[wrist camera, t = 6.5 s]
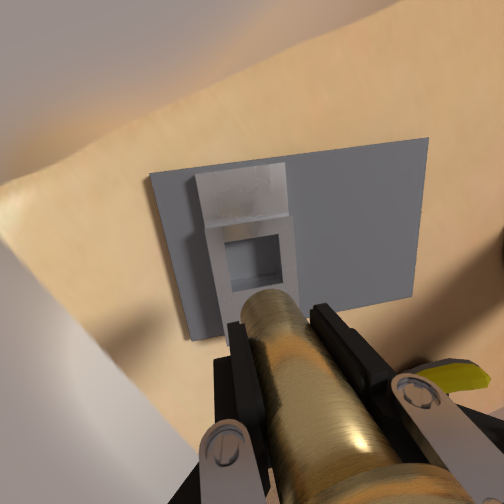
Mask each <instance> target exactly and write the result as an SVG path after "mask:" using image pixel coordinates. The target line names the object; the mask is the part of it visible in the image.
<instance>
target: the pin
mask: <svg viewBox="0 0 504 504" xmlns="http://www.w3.org/2000/svg"><path fill="white" fill-rule="evenodd" d="M240 321H241V324H243V323H245V327H246V331H247V335H248V340H249V344H250V348H251V352H252V356H253V360H254V364H255V369H256V373H257V377H258V381H259V385H260V389H261V394H262V398H263V403H264V409H265V416H266V423H267V428H266V441H267V446H268V451H269V455H270V460H271V464H272V469H273V474H274V478H275V483H276V488H277V492H278V497H279V501H280V504H476V503H475V501H474V500H473V499H472V498H471V496H470V495H469V494H468V493H467V491H466V490H465V489H464V488H463V487H462V485H461V484H460V483H459V482H458V480H457V479H456V478H455V477H454V475H453V474H452V473H450V472H449V471H447V470H445V469H443V468H441V467H438V466H435V465H430V464H423V463H405V464H404V463H403V462H402V460H401V459H400V457H399V456H398V454H397V453H396V451H395V450H394V449H393V447H392V446H391V444H390V443H389V441H388V440H387V438H386V437H385V435H384V434H383V432H382V431H381V429H380V428H379V426H378V425H377V423H376V422H375V420H374V419H373V417H372V416H371V414H370V413H369V411H368V410H367V408H366V407H365V405H364V404H363V402H362V401H361V400H360V398H359V397H358V395H357V394H356V392H355V391H354V389H353V388H352V386H351V385H350V383H349V382H348V380H347V379H346V377H345V376H344V374H343V373H342V371H341V370H340V368H339V367H338V365H337V364H336V362H335V361H334V359H333V358H332V356H331V355H330V354H329V352H328V351H327V349H326V348H325V346H324V345H323V343H322V342H321V340H320V339H319V337H318V336H317V334H316V333H315V331H314V330H313V328H312V327H311V325H310V324H309V322H308V321H307V319H306V318H305V316H304V315H303V313H302V312H301V310H300V309H299V307H298V306H297V305H296V303H295V302H294V300H293V299H292V297H291V296H290V295H289V294H287V293H286V292H284V291H282V290H278V289H265V290H261V291H259V292H257V293H255V294H253V295H252V296H251V297H250V298H248V300H247V301H246V302H245V303H244V305H243V307H242V310H241V313H240Z"/></svg>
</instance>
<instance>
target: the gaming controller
mask: <svg viewBox="0 0 504 504" xmlns="http://www.w3.org/2000/svg"><path fill="white" fill-rule="evenodd" d="M402 373H411V374H416V375H419V376H422V377H425V378H427V379H428V380H430V381H432V382H434V383H435V384H436V385H437V386H438V387H439V388H441V390H442V391H443V392H444V393H445V394H446V395H447V396H448V397H449V393H452V392H456V391H465V390H474V389H481V388H487V387H488V385H489V382H490V380H491V378H490V376H489V375H488V374H487V373H485V372H484V371H483V370H482V369H481V368H480V367H479V366H478V365H477V364H475V363H473V362H471V361H470V360H464V359H452V358H448V359H443V360H439V361H435V362H431V363H427V364H423V365H419V366H417V367H415V368H412V369H410V370H404V371H402V372H401V373H400V374H402ZM398 375H399V374H398Z"/></svg>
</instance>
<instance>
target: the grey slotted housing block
mask: <svg viewBox="0 0 504 504" xmlns="http://www.w3.org/2000/svg"><path fill="white" fill-rule="evenodd" d="M195 178H196V183H197V188H198V193H199V199H200V204H201V209H202V214H203V219H204V224H205V228H204V231H205V236H206V241H207V246H208V251H209V256H210V261H211V266H212V271H213V277H214V282H215V287H216V292H217V297H218V302H219V307H220V312H221V318H222V323H223V328H224V333H225V338H226V343H227V347H228V346H229V338H228V329H227V323H231V322H236V321H239V323H240V324H241V321H240V313H241V310H242V307H243V305H244V303H245V302H246V301H247V300H248V298H250V297H251V296H252V295H253V294H255V293H257V292H259V291H261V290H265V289H278V290H282V291H284V292H286V293H287V294H289V295H290V296H291V297H292V299H293V300H294V302H295V303H296V305H297V306H298V307H299V292H298V278H297V263H296V249H295V235H294V220H293V215H292V214H290V213H289V211H288V197H287V184H286V171H285V162H283V163H275V164H268V165H260V166H252V167H245V168H237V169H230V170H222V171H214V172H207V173H199V174H195ZM268 235H273V245H274V254H275V264H276V272H275V273H269V274H264V275H258V276H253V277H247V278H242V279H236V280H230V274H229V268H228V262H227V256H226V250H225V245H224V243H225V242H231V241H237V240H243V239H250V238H256V237H262V236H268ZM299 309H300V307H299Z"/></svg>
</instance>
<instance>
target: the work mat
mask: <svg viewBox="0 0 504 504" xmlns="http://www.w3.org/2000/svg"><path fill="white" fill-rule="evenodd" d="M428 142H429V137H428V138H420V139H412V140H404V141H397V142H389V143H381V144H373V145H365V146H358V147H350V148H342V149H334V150H327V151H319V152H311V153H303V154H296V155H288V156H280V157H272V158H265V159H257V160H249V161H241V162H233V163H226V164H218V165H210V166H202V167H195V168H187V169H179V170H171V171H164V172H156V173H149V174H150V178H151V182H152V186H153V190H154V194H155V198H156V202H157V206H158V210H159V214H160V218H161V222H162V226H163V230H164V234H165V238H166V242H167V246H168V250H169V253H170V257H171V261H172V265H173V269H174V273H175V277H176V281H177V285H178V289H179V293H180V297H181V301H182V305H183V309H184V313H185V317H186V321H187V325H188V329H189V333H190V337H191V341H197V340H202V339H207V338H212V337H217V336H222V335H225V333H224V328H223V323H222V318H221V312H220V307H219V302H218V297H217V292H216V287H215V282H214V277H213V271H212V266H211V261H210V256H209V251H208V246H207V241H206V236H205V231H204V228H205V224H204V219H203V214H202V209H201V204H200V199H199V193H198V188H197V183H196V178H195V174H199V173H207V172H214V171H222V170H230V169H237V168H245V167H252V166H260V165H268V164H275V163H283V162H285V171H286V184H287V197H288V211H289V213H290V214H292V215H293V220H294V235H295V249H296V263H297V278H298V292H299V307H300V310H301V312H302V313H303V315H304V316H305V318H310V309H313V306H314V305H317V304H321V303H327V304H328V305H329V306H330V307H331V308H332V309H333V310H334V311H335V312H340V311H345V310H350V309H355V308H360V307H365V306H369V305H374V304H379V303H384V302H389V301H394V300H399V299H404V298H409V297H412V293H413V284H414V274H415V265H416V255H417V246H418V236H419V227H420V218H421V208H422V199H423V189H424V180H425V170H426V161H427V152H428ZM224 245H225V250H226V256H227V262H228V268H229V274H230V280H236V279H242V278H247V277H253V276H258V275H264V274H269V273H275V272H276V264H275V254H274V245H273V235H268V236H262V237H256V238H250V239H243V240H237V241H231V242H225V243H224Z"/></svg>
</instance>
